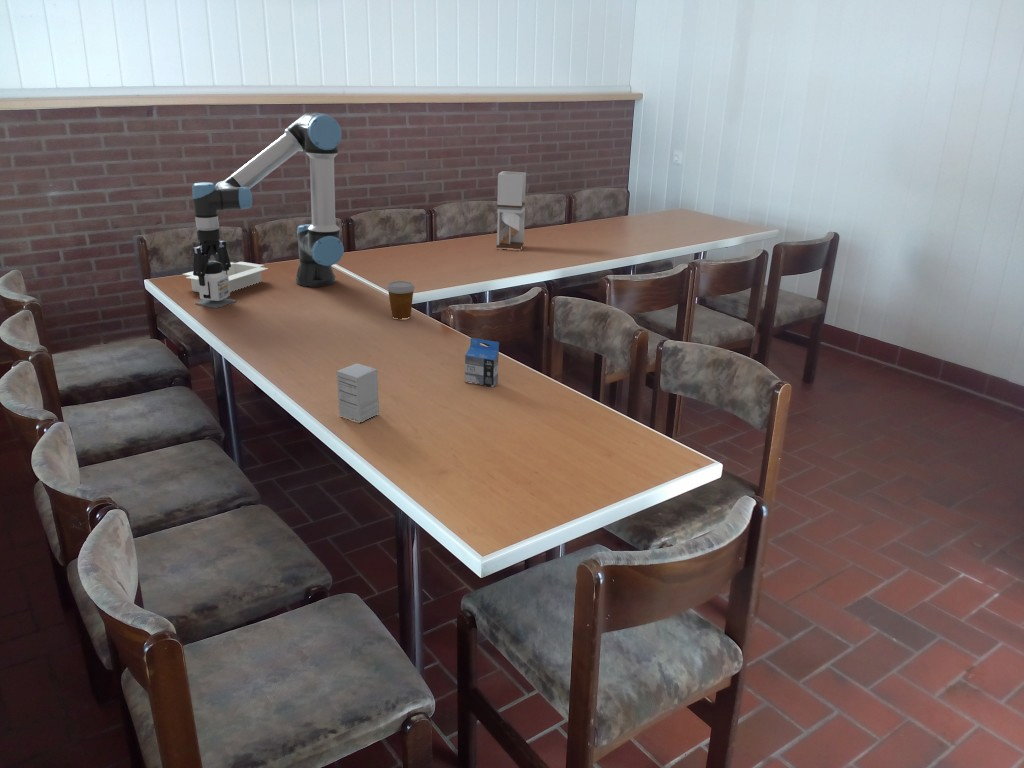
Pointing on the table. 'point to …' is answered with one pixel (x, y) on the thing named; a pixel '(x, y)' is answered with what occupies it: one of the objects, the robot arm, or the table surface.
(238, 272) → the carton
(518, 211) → the white hollow stand
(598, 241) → the table surface
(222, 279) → the container
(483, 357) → the label tape cartridge
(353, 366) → the grey drawer cabinet
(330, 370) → the table surface
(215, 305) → the mat
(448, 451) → the table surface
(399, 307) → the disposable coffee cup
